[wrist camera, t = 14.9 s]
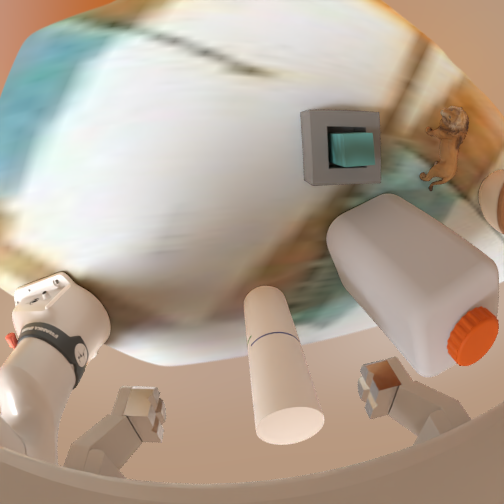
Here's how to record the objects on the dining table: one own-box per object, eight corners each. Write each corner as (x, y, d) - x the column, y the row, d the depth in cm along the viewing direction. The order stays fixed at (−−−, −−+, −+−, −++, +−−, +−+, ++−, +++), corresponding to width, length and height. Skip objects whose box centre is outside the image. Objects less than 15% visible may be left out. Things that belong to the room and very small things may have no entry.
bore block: (304, 180, 43) (313, 185, 38) (300, 112, 39) (309, 109, 35) (366, 177, 43) (380, 183, 39) (364, 113, 40) (379, 112, 35)
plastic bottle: (396, 183, 44) (531, 244, 18) (416, 259, 50) (518, 349, 24) (316, 223, 46) (410, 332, 20) (346, 297, 51) (421, 420, 25)
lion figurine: (418, 104, 39) (452, 102, 31) (442, 109, 39) (476, 109, 31) (417, 190, 45) (449, 203, 36) (440, 190, 45) (472, 203, 37)
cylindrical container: (294, 301, 50) (337, 419, 27) (266, 328, 52) (290, 449, 29) (263, 277, 48) (291, 398, 25) (234, 307, 50) (241, 433, 27)
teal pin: (322, 133, 40) (342, 134, 32) (348, 132, 40) (372, 132, 32) (325, 161, 41) (345, 167, 34) (351, 158, 41) (375, 164, 34)
